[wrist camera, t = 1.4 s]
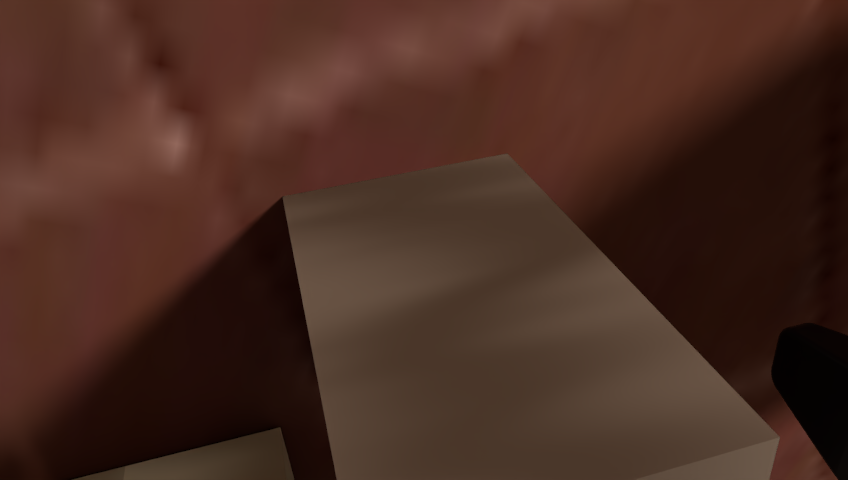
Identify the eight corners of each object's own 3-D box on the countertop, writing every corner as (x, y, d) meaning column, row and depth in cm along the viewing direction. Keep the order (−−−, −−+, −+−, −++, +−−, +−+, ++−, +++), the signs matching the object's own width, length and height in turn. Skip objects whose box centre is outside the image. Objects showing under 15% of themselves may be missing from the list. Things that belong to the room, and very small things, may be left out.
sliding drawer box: (507, 153, 12) (829, 488, 6) (512, 330, 14) (752, 721, 8) (282, 196, 11) (365, 631, 5) (320, 376, 14) (415, 847, 7)
